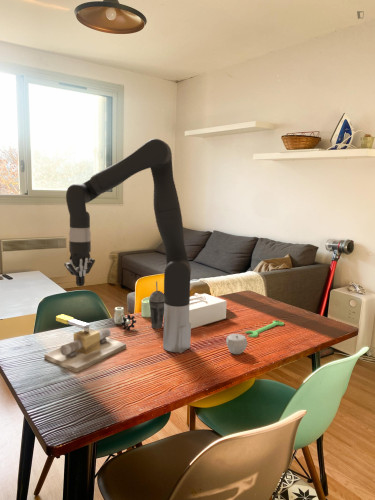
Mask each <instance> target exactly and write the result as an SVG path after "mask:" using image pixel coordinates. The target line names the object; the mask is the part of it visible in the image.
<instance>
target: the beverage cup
mask: <svg viewBox="0 0 375 500" xmlns="http://www.w3.org/2000/svg"><path fill="white" fill-rule="evenodd" d="M155 286H156V287H155V288H156V290H155V291H152V293H151V294H150V295H149V297H150V298H149V304H150V313H151V317H150V323H151V325H150V326H151V328H152V329H155V330H156V329H157V330H160V329H161V328H163V325H164V292H162V291H160V290H158V281H157V280H156V281H155Z"/></svg>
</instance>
